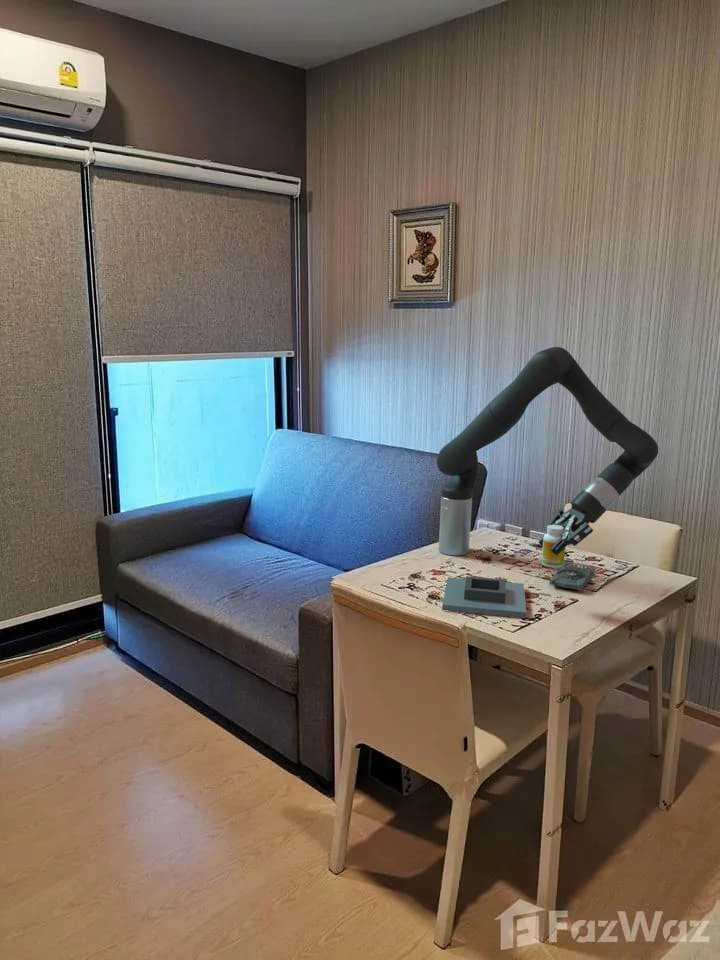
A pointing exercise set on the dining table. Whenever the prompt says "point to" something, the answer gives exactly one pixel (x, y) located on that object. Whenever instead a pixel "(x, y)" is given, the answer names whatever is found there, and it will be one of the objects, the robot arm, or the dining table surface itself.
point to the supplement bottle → (548, 542)
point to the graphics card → (573, 576)
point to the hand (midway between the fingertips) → (547, 548)
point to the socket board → (485, 596)
